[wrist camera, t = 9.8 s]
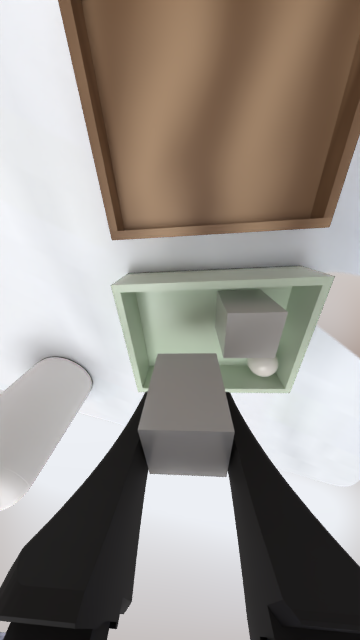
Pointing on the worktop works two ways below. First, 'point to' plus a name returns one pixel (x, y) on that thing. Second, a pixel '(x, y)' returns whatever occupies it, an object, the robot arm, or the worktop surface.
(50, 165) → the worktop surface
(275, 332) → the grey rectangular block
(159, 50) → the walnut tray
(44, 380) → the pill bottle
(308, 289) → the green bin
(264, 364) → the white ball
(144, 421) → the stone
